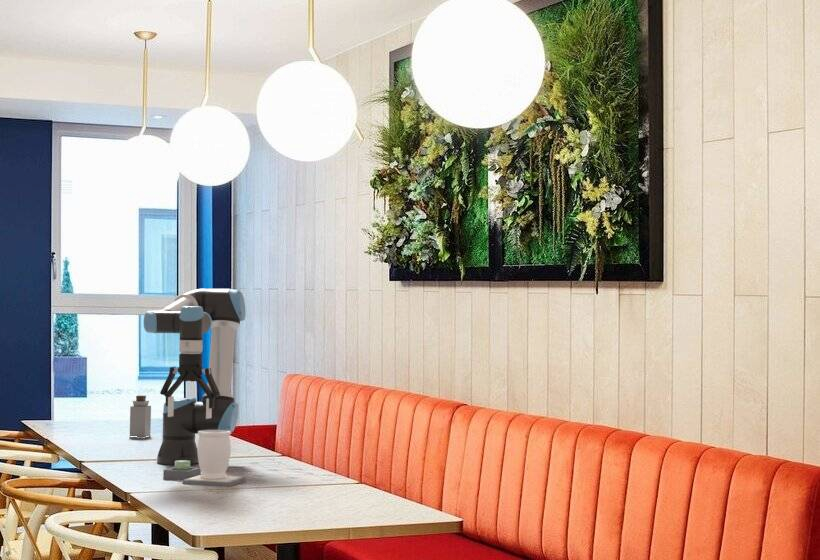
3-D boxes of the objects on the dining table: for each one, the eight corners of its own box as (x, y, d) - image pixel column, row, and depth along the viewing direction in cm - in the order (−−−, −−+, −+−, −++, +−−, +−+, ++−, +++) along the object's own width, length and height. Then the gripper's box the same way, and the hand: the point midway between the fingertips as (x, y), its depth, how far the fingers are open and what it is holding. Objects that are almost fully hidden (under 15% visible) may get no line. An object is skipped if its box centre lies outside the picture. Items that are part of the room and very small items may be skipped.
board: (182, 483, 355) (182, 479, 355) (200, 478, 367) (200, 473, 367) (228, 486, 350) (228, 482, 350) (245, 481, 363) (245, 476, 363)
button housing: (163, 479, 364) (163, 469, 364) (176, 475, 373) (176, 466, 373) (188, 480, 362) (188, 471, 362) (200, 476, 370) (201, 467, 371)
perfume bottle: (135, 436, 488) (136, 395, 488) (150, 436, 487) (151, 395, 487) (129, 437, 481) (130, 396, 482) (144, 438, 480) (145, 396, 481)
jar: (190, 478, 356) (191, 431, 356) (206, 474, 366) (207, 428, 366) (220, 480, 352) (221, 433, 353) (235, 476, 362) (236, 430, 363)
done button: (171, 471, 366) (172, 461, 366) (179, 469, 370) (179, 459, 371) (185, 472, 364) (185, 462, 364) (192, 470, 369) (192, 460, 369)
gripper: (150, 352, 367) (149, 416, 367) (221, 354, 361) (220, 420, 361) (161, 351, 374) (159, 414, 374) (230, 353, 368) (229, 417, 368)
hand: (189, 417), depth 367 cm, fingers open, 13 cm apart
